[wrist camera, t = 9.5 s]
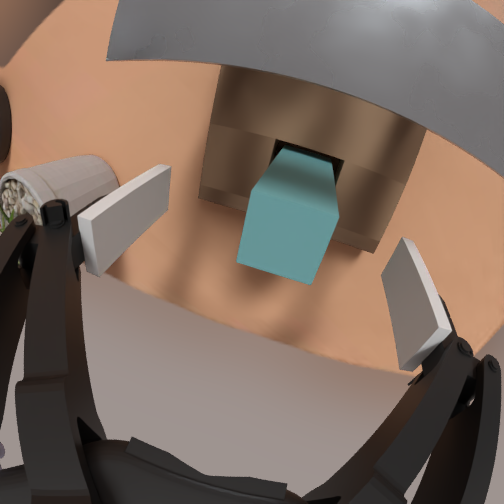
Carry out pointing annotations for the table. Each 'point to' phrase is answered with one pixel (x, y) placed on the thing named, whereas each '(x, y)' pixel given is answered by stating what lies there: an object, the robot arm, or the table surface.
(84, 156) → the potted plant
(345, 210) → the socket plate
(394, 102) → the grey metal bridge
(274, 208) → the peg
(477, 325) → the table surface
